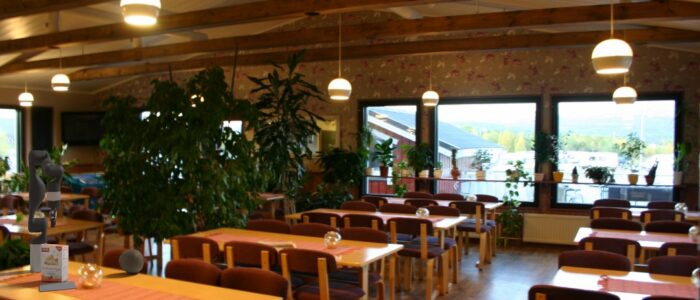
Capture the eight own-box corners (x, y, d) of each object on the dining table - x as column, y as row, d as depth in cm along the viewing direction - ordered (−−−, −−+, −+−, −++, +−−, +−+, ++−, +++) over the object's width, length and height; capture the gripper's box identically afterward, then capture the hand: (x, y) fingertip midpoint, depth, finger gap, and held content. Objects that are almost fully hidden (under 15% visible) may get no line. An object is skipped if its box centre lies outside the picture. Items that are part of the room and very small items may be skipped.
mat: (39, 284, 340) (39, 283, 340) (74, 281, 348) (74, 280, 348) (39, 292, 324) (39, 291, 324) (76, 288, 332) (76, 287, 332)
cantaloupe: (130, 270, 380) (130, 246, 380) (148, 272, 375) (148, 248, 375) (114, 274, 367) (114, 250, 367) (132, 277, 362) (132, 252, 361)
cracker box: (40, 281, 347) (40, 245, 347) (48, 279, 353) (48, 243, 353) (61, 282, 343) (61, 246, 344) (68, 280, 349) (68, 244, 349)
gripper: (47, 197, 358) (47, 224, 358) (45, 200, 345) (45, 228, 345) (61, 197, 361) (60, 224, 361) (59, 200, 348) (59, 228, 348)
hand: (53, 226), depth 353 cm, fingers open, 8 cm apart
